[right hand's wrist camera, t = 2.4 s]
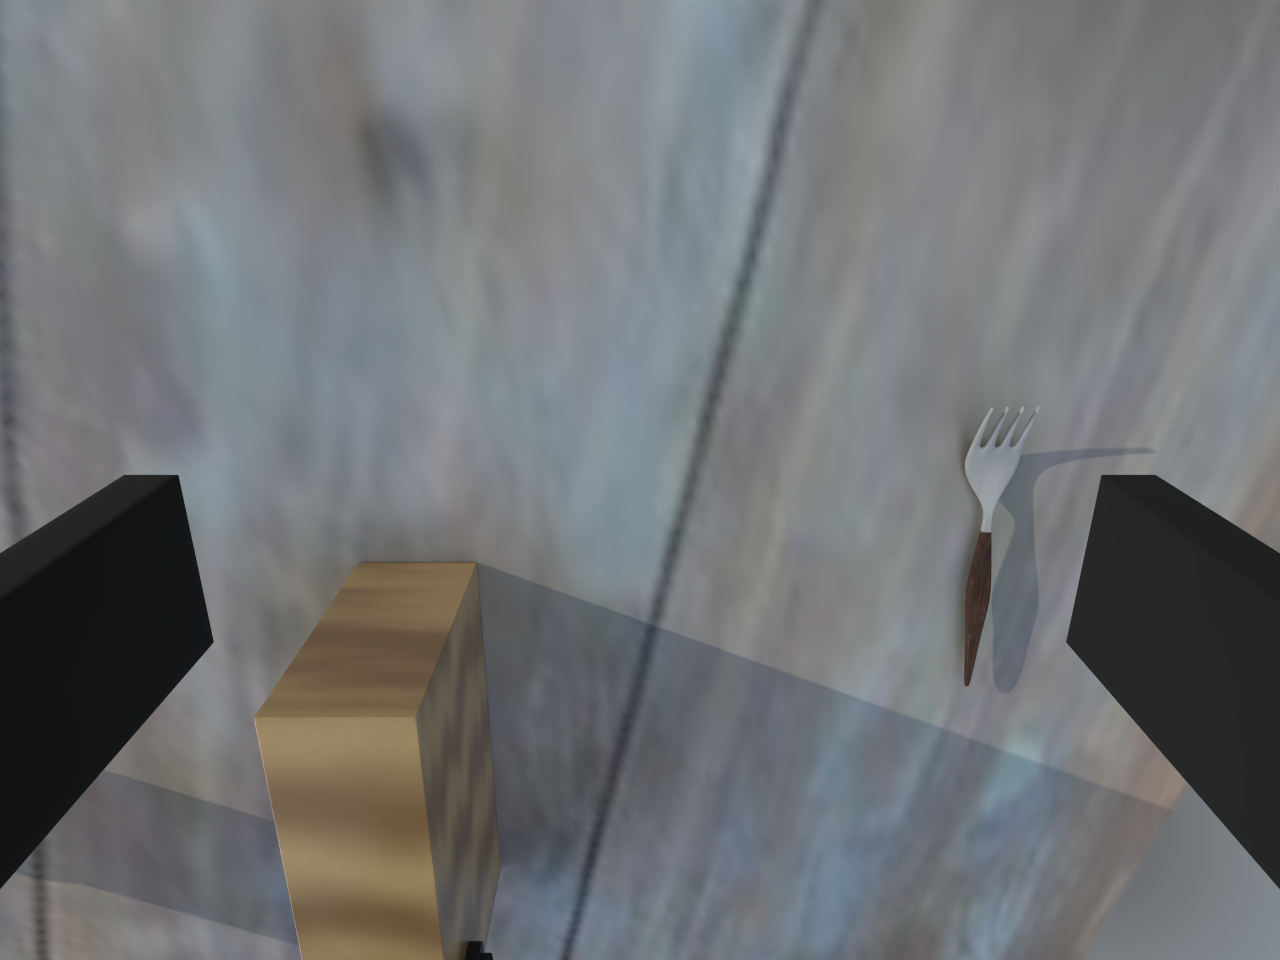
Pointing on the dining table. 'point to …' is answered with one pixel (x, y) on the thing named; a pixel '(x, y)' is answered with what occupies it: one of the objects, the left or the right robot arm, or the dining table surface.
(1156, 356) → the dining table surface
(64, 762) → the right robot arm
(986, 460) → the fork
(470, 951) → the left robot arm
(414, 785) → the box
